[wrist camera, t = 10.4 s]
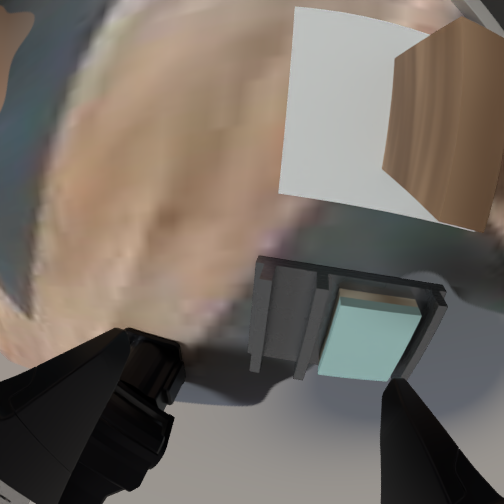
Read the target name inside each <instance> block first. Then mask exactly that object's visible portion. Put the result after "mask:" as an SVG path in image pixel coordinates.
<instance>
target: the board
mask: <svg viewBox="0 0 504 504" xmlns="http://www.w3.org/2000/svg"><path fill="white" fill-rule="evenodd" d="M428 36H430V35H429V34H426V33H423V32H420V31H417V30H414V29H411V28H408V27H404V26H401V25H397V24H394V23H390V22H386V21H382V20H378V19H374V18H369V17H365V16H360V15H355V14H349V13H344V12H337V11H331V10H323V9H315V8H305V7H295V15H294V29H293V42H292V55H291V67H290V79H289V91H288V102H287V113H286V123H285V134H284V144H283V154H282V164H281V174H280V183H279V194H286V195H293V196H300V197H306V198H313V199H319V200H325V201H331V202H337V203H343V204H349V205H354V206H360V207H365V208H370V209H376V210H381V211H386V212H391V213H396V214H401V215H405V216H410V217H415V218H419V219H424V220H428V221H432V222H437V223H441V224H445V225H449V226H454V225H450V224H446V223H442V222H438V221H437V220H436V219H435V218H434V217H433V216H432V215H431V214H430V213H429V212H428V211H427V210H426V209H425V208H424V207H423V206H422V205H421V204H420V203H419V202H418V201H417V200H416V199H415V198H414V197H413V196H412V195H411V194H409V193H408V192H407V191H406V190H405V189H404V188H403V187H402V186H401V185H399V184H398V183H397V182H396V181H395V180H394V179H393V178H392V177H390V176H389V175H388V174H387V173H386V172H385V171H383V170H382V164H383V158H384V152H385V145H386V138H387V131H388V124H389V116H390V107H391V98H392V87H393V74H394V59H395V58H396V57H397V56H399V55H400V54H402V53H403V52H405V51H406V50H408V49H409V48H411V47H412V46H414V45H415V44H417V43H419V42H420V41H422V40H423V39H425V38H426V37H428ZM454 227H458V226H454ZM458 228H462V227H458ZM462 229H466V228H462ZM466 230H469V231H473V232H475V231H474V230H470V229H466Z"/></svg>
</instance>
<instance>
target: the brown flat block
mask: <svg viewBox="0 0 504 504" xmlns="http://www.w3.org/2000/svg"><path fill="white" fill-rule="evenodd" d="M503 151H504V38H503V37H501V36H500V35H498V34H496V33H494V32H492V31H491V30H489V29H487V28H485V27H483V26H481V25H479V24H477V23H475V22H473V21H471V20H469V19H467V18H465V17H462V16H461V17H460V18H458V19H456V20H455V21H453V22H451V23H449V24H448V25H446V26H444V27H443V28H441V29H439V30H438V31H436V32H435V33H433V34H431V35H430V36H428V37H426V38H425V39H423V40H422V41H420V42H419V43H417V44H415V45H414V46H412V47H411V48H409V49H408V50H406V51H405V52H403V53H402V54H400V55H399V56H397V57H396V58H395V59H394V74H393V87H392V98H391V107H390V116H389V124H388V131H387V138H386V145H385V152H384V158H383V164H382V170H383V171H385V172H386V173H387V174H388V175H389V176H390V177H392V178H393V179H394V180H395V181H396V182H397V183H398V184H399V185H401V186H402V187H403V188H404V189H405V190H406V191H407V192H408V193H409V194H411V195H412V196H413V197H414V198H415V199H416V200H417V201H418V202H419V203H420V204H421V205H422V206H423V207H424V208H425V209H426V210H427V211H428V212H429V213H430V214H431V215H432V216H433V217H434V218H435V219H436V220H437V221H438V222H442V223H446V224H450V225H454V226H458V227H462V228H466V229H470V230H474V231H478V232H482V233H484V230H485V227H486V224H487V220H488V217H489V213H490V210H491V206H492V202H493V199H494V195H495V191H496V186H497V182H498V177H499V173H500V168H501V162H502V157H503Z"/></svg>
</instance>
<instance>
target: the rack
mask: <svg viewBox="0 0 504 504" xmlns="http://www.w3.org/2000/svg"><path fill="white" fill-rule="evenodd" d="M339 288H341V289H347V290H354V291H360V292H367V293H374V294H381V295H388V296H395V297H402V298H409V299H415V300H416V303H417V305H418V308H419V310H420V313H421V315H422V317H421V319H420V321H419V323H418V325H417V327H416V329H415V331H414V333H413V335H412V337H411V339H410V341H409V343H408V345H407V347H406V349H405V351H404V353H403V354H402V356H401V358H400V360H399V362H398V363H397V365H396V367H395V369H394V370H393V372H392V374H391V379H392V378H404V379H405V380H406V381H407V380H408V378H409V376H410V375H411V373H412V372H413V370H414V368H415V367H416V365H417V363H418V362H419V360H420V359H421V357H422V355H423V353H424V351H425V350H426V348H427V346H428V345H429V343H430V341H431V339H432V337H433V335H434V334H435V332H436V330H437V328H438V326H439V324H440V322H441V320H442V318H443V316H444V314H445V312H446V310H447V308H448V306H447V304H446V302H445V300H444V297H445V295H446V290H445V288H444V286H443V285H440V284H434V283H427V282H421V281H415V280H408V279H402V278H396V277H389V276H383V275H377V274H370V273H364V272H358V271H352V270H345V269H339V268H333V267H326V266H320V265H314V264H308V263H301V262H295V261H289V260H283V259H277V258H270V257H264V256H258V258H257V261H256V267H255V278H254V289H253V299H252V310H251V321H250V331H249V342H248V352H247V353H251V362H250V371H252V372H257V373H259V372H260V368H261V364H262V360H263V356H267V357H272V358H278V359H284V360H290V361H296V362H295V370H294V377H293V379H298V380H303V378H304V375H305V372H306V369H307V366H308V363H310V364H317V365H318V360H319V354H320V351H321V348H322V345H323V342H324V339H325V336H326V332H327V329H328V326H329V322H330V319H331V316H332V312H333V309H334V305H335V302H336V298H337V295H338V291H339Z"/></svg>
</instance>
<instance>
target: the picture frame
mask: <svg viewBox="0 0 504 504" xmlns="http://www.w3.org/2000/svg"><path fill="white" fill-rule="evenodd" d="M451 1H452V2H453V3H454V5H455V6H456V7H457V8H458V9H459V10H460V11H461V13H462V14H463V15H464V16H465V17H466V18H467V19H469V20H471V21H473V22H475V23H477V24H479V25H481V26H483V27H485V28H487V29H489V30H491V31H492V32H494V33H496V34H498V35H500V36H501V37H503V38H504V0H451Z"/></svg>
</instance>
